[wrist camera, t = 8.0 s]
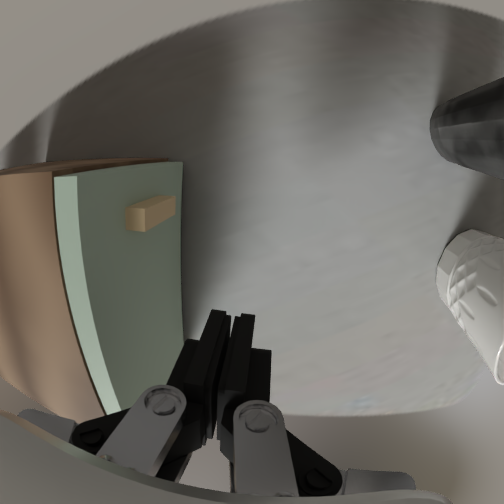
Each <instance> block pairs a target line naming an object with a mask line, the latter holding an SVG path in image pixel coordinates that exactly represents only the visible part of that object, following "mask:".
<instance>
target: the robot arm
mask: <svg viewBox="0 0 504 504" xmlns="http://www.w3.org/2000/svg"><path fill="white" fill-rule="evenodd" d="M254 322H255V315H252V314H243V313H241V317H238V316H235V319H234V323H233V327H232V332H231V336H230V327H231V316H230V315H226V311H221V310H214V309H212V310H211V312H210V315H209V318H208V320H207V323H206V325H205V328H204V330H203V333H202V335H201V338H200V340H193V339H187V340H186V341H185V343H184V345H183V348H182V350H181V352H180V354H179V357H178V359H177V361H176V363H175V365H174V368H173V370H172V372H171V374H170V377H169V379H168V381H167V383H166V385H156V386H152V387H150V388H148V389H146V390H145V391H144V392H143V393H142V394H141V395H140V397H139V398H138V399H137V401H136V402H135V403H134V405H133V406H132V407H131V408H128V409H125V410H121V411H118V412H115V413H112V414H109V415H105V416H102V417H98V418H95V419H91V420H88V421H85V422H82V423H80V424H79V423H76V421H75V420H72V419H68V418H64V417H60V416H56V415H52V414H48V413H45V412H42V411H38V410H35V409H25V410H23V411H21V412H20V413H19V414H18V415H17V416H16V415H14V414H12V413H9V412H6V411H3V410H0V504H453V503H452V501H451V500H449V499H448V498H447V497H445V496H443V495H441V494H438V493H434V492H429V491H422V490H416V486H415V481H414V480H413V478H412V477H411V476H410V475H408V474H407V473H403V472H386V471H370V470H358V469H348V470H347V471H345V470H338V469H337V468H336V467H335V466H334V465H333V464H331V463H330V462H329V461H327V460H326V459H324V458H323V457H322V456H320V455H319V454H317V453H316V452H315V451H313V450H312V449H311V448H309V447H308V446H307V445H306V444H304V443H303V442H302V441H300V440H299V439H298V438H296V437H295V436H294V435H293V434H291V433H290V432H289V431H288V430H286V428H285V423H284V418H283V415H282V413H281V411H280V410H279V409H278V408H277V407H276V406H275V405H273V404H272V403H269V401H270V378H271V350H265V349H256V348H251V347H252V338H253V330H254ZM216 421H217V440H220V451H221V452H222V453H223V455H224V456H225V457H226V458H227V459H228V460H229V470H230V493H228V492H221V491H215V490H209V489H204V488H198V487H193V486H188V485H184V484H180V483H179V481H180V479H181V477H182V475H183V473H184V471H185V469H186V467H187V465H188V463H189V461H190V458H191V456H192V452H193V451H195V450H197V449H199V448H201V447H202V445H206V440H207V438H209V439H212V438H213V435H214V430H215V426H216Z"/></svg>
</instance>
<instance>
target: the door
mask: <svg viewBox="0 0 504 504" xmlns="http://www.w3.org/2000/svg"><path fill="white" fill-rule="evenodd" d="M182 173H183V162H157V163H146V164H137V165H128V166H120V167H112V168H105V169H98V170H92V171H85V172H79V173H74V174H68V175H63V176H57V177H54V188H55V208H56V221H57V231H58V240H59V248H60V255H61V261H62V268H63V273H64V279H65V284H66V289H67V294H68V298H69V303H70V307H71V311H72V315H73V319H74V323H75V327H76V330H77V334H78V337H79V341H80V344H81V347H82V350H83V353H84V356H85V359H86V362H87V365H88V368H89V371H90V374H91V376H92V379H93V382H94V384H95V387H96V390H97V392H98V394H99V397H100V399H101V402H102V404H103V406H104V409H105V411H106V413H107V415H109V414H112V413H115V412H118V411H121V410H125V409H128V408H131V407H132V406H133V405H134V403H135V402H136V401H137V399H138V398H139V397H140V395H141V394H142V393H143V392H144V391H145V390H146V389H148V388H150V387H152V386H156V385H166V383H167V381H168V379H169V377H170V374H171V372H172V370H173V368H174V365H175V363H176V361H177V359H178V357H179V354H180V352H181V350H182V348H183V345H184V340H183V322H182V299H181V197H182Z"/></svg>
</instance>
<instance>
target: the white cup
mask: <svg viewBox="0 0 504 504" xmlns="http://www.w3.org/2000/svg"><path fill="white" fill-rule="evenodd" d="M436 286H437V289H438V292H439V295H440V298H441V299H442V300H443V302H444V303H445V304H446V305H447V307H448V308H449V309H450V310H451V312H452V313H453V315H454V317H455V319H456V321H457V322H458V323H459V325H460V326H461V327H462V329H463V330H464V332H465V334H466V335H467V337H468V338H469V340H470V341H471V343H472V344H473V345H474V347H475V348H476V350H477V351H478V353H479V354H480V356H481V357H482V359H483V361H484V362H485V364H486V365H487V367H488V368H489V370H490V372H491V373H492V375H493V377H494V378H495V380H496V381H497V383H498V384H501V385H504V239H503V238H500V237H495V236H492V235H490V234H488V233H486V232H483V231H478V230H474V229H470V230H467V231H465V232H463V233H461V234H458V235H457V236H456V237H455V238H454V239H453V240H452V241H451V242H450V244H449V245H448V246H447V247H446V248H445V250H444V252H443V254H442V257H441V259H440V261H439V263H438V266H437V276H436Z"/></svg>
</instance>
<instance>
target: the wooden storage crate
mask: <svg viewBox="0 0 504 504" xmlns="http://www.w3.org/2000/svg"><path fill="white" fill-rule="evenodd" d="M157 162H168V158H105V159H82V160H66V161H53V162H43V163H36V164H30V165H24V166H18V167H13V168H8V169H2V170H0V376H1V377H2V378H3V379H4V380H6V381H7V382H8V383H10V384H11V385H12V386H14V387H16V388H17V389H18V390H20V391H21V392H22V393H24V394H25V395H27V396H28V397H30V398H31V399H33V400H34V401H36V402H38V403H39V404H41V405H42V406H44V407H46V408H47V409H49V410H51V411H52V412H54V413H56V414H58V415H60V416H61V417H64V418H68V419H72V420H75V421H76V423H79V424H80V423H82V422H85V421H88V420H91V419H95V418H98V417H102V416H105V415H107V413H106V411H105V409H104V406H103V404H102V402H101V399H100V397H99V394H98V392H97V390H96V387H95V384H94V382H93V379H92V376H91V374H90V371H89V368H88V365H87V362H86V359H85V356H84V353H83V350H82V347H81V344H80V341H79V337H78V334H77V330H76V327H75V323H74V319H73V315H72V311H71V307H70V303H69V298H68V294H67V289H66V284H65V279H64V273H63V268H62V261H61V255H60V248H59V240H58V231H57V221H56V208H55V188H54V177H57V176H63V175H68V174H74V173H79V172H85V171H92V170H98V169H105V168H112V167H120V166H128V165H137V164H146V163H157Z"/></svg>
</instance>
